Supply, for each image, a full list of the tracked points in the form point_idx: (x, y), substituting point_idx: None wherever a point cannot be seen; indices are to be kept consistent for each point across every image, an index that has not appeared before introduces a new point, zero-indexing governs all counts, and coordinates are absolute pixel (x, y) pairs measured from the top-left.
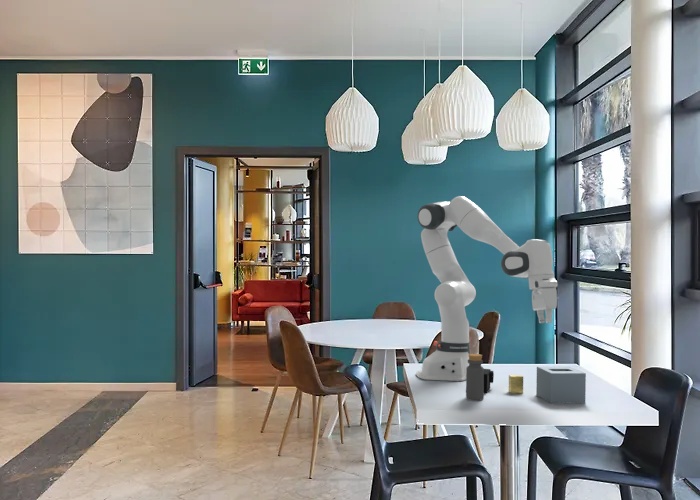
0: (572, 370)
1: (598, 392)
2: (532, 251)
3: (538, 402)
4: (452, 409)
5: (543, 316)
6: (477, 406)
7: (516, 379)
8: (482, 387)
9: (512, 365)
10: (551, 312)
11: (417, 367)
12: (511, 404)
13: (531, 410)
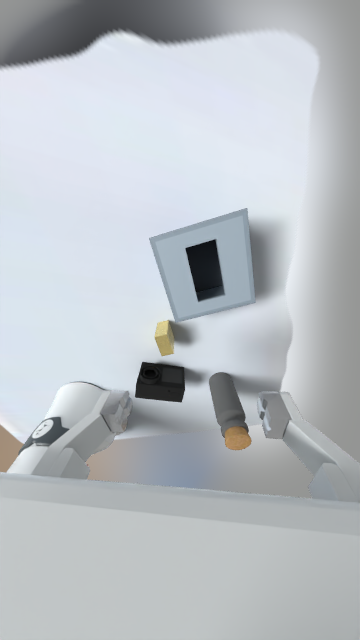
0: (207, 240)
1: (106, 150)
2: None
3: None
4: None
5: (92, 424)
6: (261, 378)
7: (170, 342)
8: (231, 386)
9: None
10: (356, 468)
11: None
12: (247, 342)
13: (280, 320)
